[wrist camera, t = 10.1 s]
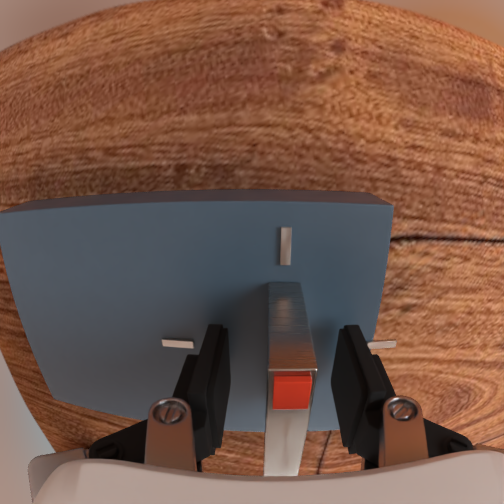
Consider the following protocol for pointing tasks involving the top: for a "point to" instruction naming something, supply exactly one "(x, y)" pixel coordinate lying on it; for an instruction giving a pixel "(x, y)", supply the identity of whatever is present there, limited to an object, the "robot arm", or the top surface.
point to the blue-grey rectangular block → (189, 288)
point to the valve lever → (287, 379)
